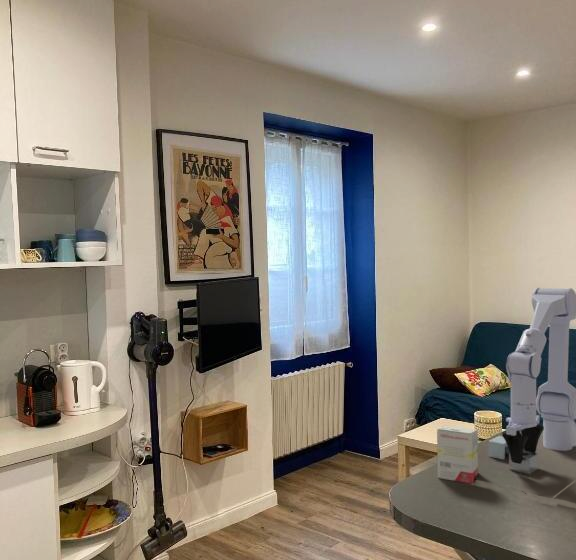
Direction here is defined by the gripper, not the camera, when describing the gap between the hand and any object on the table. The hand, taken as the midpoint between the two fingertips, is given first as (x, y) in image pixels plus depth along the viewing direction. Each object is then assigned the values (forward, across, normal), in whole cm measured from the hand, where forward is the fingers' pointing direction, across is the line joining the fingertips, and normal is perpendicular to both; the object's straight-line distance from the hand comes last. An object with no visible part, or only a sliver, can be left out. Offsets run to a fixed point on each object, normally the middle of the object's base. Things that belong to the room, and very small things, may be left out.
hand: (523, 458), depth 146 cm
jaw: (+3, 0, 0) cm, 3 cm away
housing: (+2, -6, -8) cm, 11 cm away
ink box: (+4, +12, -10) cm, 17 cm away
